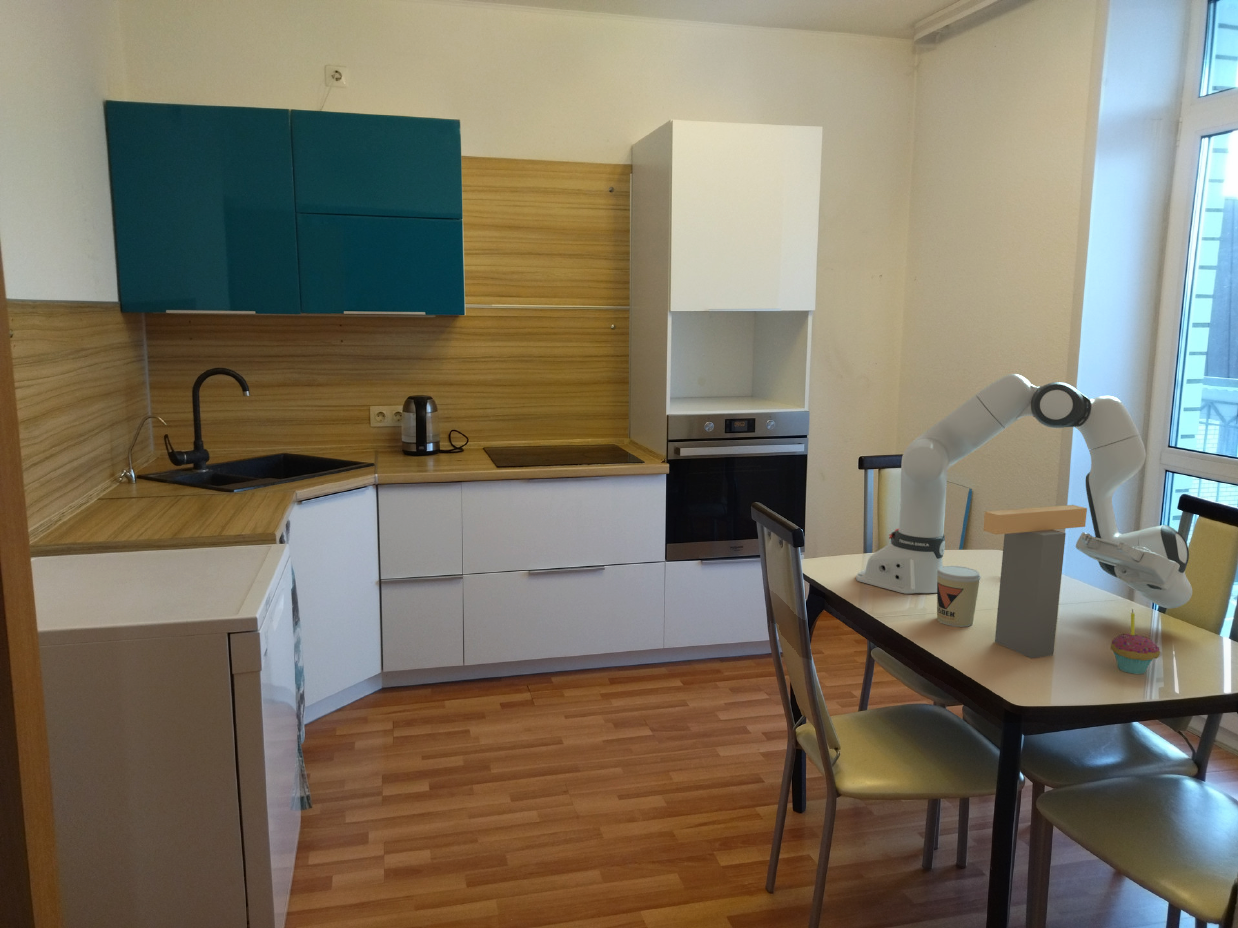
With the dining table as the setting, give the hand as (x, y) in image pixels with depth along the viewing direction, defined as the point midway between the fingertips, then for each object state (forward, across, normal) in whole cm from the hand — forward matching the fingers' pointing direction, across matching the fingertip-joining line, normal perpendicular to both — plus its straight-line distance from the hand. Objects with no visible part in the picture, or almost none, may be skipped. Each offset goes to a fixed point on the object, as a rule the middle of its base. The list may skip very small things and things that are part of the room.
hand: (1101, 540), depth 192 cm
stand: (+6, 0, +29) cm, 29 cm away
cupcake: (-4, +16, +23) cm, 29 cm away
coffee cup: (+7, -19, +30) cm, 36 cm away
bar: (+19, 0, +6) cm, 20 cm away
